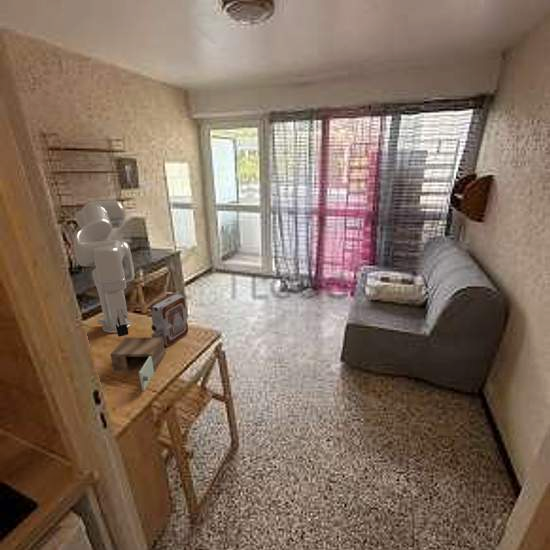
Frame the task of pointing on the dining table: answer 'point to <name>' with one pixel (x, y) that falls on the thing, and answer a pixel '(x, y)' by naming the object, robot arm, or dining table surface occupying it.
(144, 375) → the case door
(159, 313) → the cine camera
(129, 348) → the camera case
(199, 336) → the dining table surface
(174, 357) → the dining table surface
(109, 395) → the dining table surface
